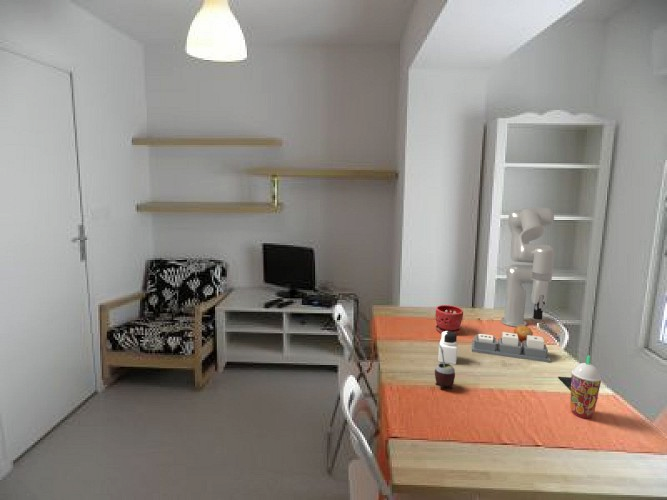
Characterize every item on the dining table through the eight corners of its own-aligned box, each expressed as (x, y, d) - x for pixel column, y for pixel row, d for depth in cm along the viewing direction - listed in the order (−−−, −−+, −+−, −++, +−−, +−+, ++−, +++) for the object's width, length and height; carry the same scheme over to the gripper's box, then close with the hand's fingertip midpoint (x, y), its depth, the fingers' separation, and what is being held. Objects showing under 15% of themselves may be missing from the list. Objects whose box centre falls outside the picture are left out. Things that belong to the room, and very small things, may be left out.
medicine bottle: (456, 357, 177) (458, 330, 175) (455, 364, 170) (457, 336, 168) (439, 355, 179) (441, 328, 177) (438, 361, 172) (439, 334, 170)
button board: (472, 342, 193) (472, 333, 193) (545, 352, 183) (546, 342, 183) (471, 351, 183) (472, 341, 182) (549, 362, 173) (551, 352, 172)
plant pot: (432, 334, 203) (434, 310, 201) (436, 325, 215) (438, 303, 213) (460, 338, 198) (462, 314, 196) (462, 329, 210) (464, 306, 208)
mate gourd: (450, 393, 147) (453, 353, 144) (429, 387, 151) (431, 348, 148) (456, 384, 153) (459, 346, 151) (435, 379, 157) (438, 341, 155)
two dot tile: (501, 340, 186) (502, 331, 186) (516, 342, 184) (517, 333, 184) (502, 345, 181) (503, 336, 180) (517, 347, 179) (518, 338, 178)
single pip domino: (526, 343, 183) (527, 334, 182) (541, 345, 181) (542, 336, 181) (527, 348, 178) (528, 339, 177) (543, 350, 176) (544, 341, 175)
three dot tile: (477, 341, 190) (478, 333, 189) (492, 343, 188) (492, 334, 187) (477, 346, 184) (478, 337, 184) (492, 348, 182) (493, 339, 182)
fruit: (526, 333, 202) (531, 323, 197) (531, 347, 196) (536, 336, 191) (509, 332, 203) (513, 322, 198) (513, 346, 197) (517, 335, 192)
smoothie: (561, 407, 139) (567, 350, 136) (584, 406, 140) (591, 350, 136) (577, 421, 131) (585, 361, 127) (602, 420, 132) (610, 361, 128)
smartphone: (576, 377, 160) (597, 396, 145) (575, 379, 160) (597, 399, 145) (557, 376, 160) (577, 395, 145) (557, 378, 160) (576, 398, 145)
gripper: (529, 272, 182) (525, 312, 185) (534, 279, 168) (529, 323, 171) (548, 273, 180) (544, 314, 183) (554, 281, 166) (550, 325, 169)
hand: (537, 318), depth 177 cm, fingers closed
